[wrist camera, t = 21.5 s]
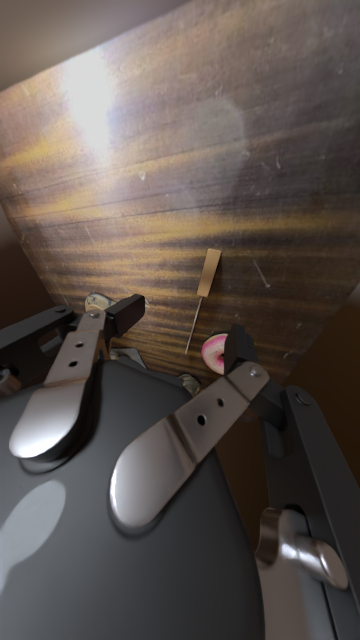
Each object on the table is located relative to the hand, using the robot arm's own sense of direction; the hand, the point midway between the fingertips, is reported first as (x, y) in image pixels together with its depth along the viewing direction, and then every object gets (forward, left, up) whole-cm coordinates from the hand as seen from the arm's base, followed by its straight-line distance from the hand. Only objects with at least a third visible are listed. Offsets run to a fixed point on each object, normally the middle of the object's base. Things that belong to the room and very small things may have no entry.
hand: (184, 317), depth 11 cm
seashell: (+35, +24, -20) cm, 47 cm away
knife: (+9, +5, -20) cm, 23 cm away
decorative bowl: (+34, -16, -20) cm, 43 cm away
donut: (+11, +19, -20) cm, 30 cm away
